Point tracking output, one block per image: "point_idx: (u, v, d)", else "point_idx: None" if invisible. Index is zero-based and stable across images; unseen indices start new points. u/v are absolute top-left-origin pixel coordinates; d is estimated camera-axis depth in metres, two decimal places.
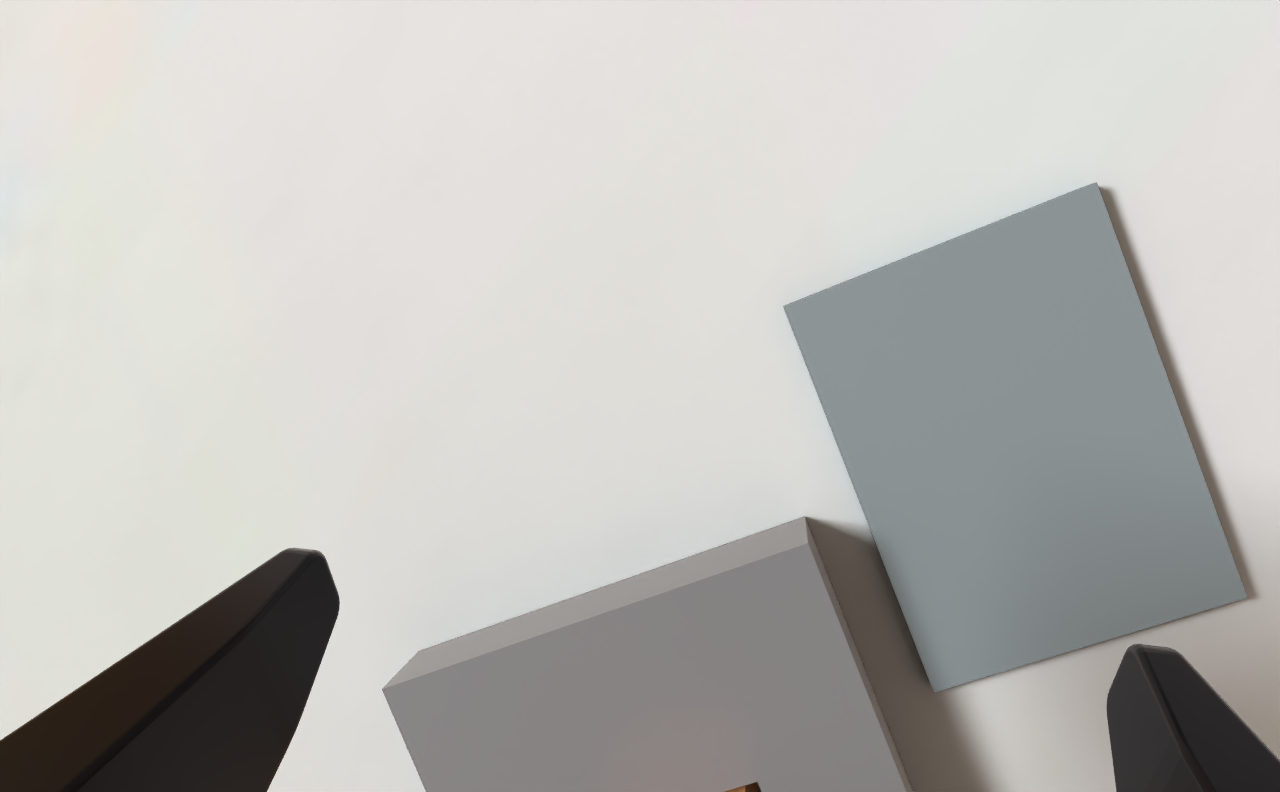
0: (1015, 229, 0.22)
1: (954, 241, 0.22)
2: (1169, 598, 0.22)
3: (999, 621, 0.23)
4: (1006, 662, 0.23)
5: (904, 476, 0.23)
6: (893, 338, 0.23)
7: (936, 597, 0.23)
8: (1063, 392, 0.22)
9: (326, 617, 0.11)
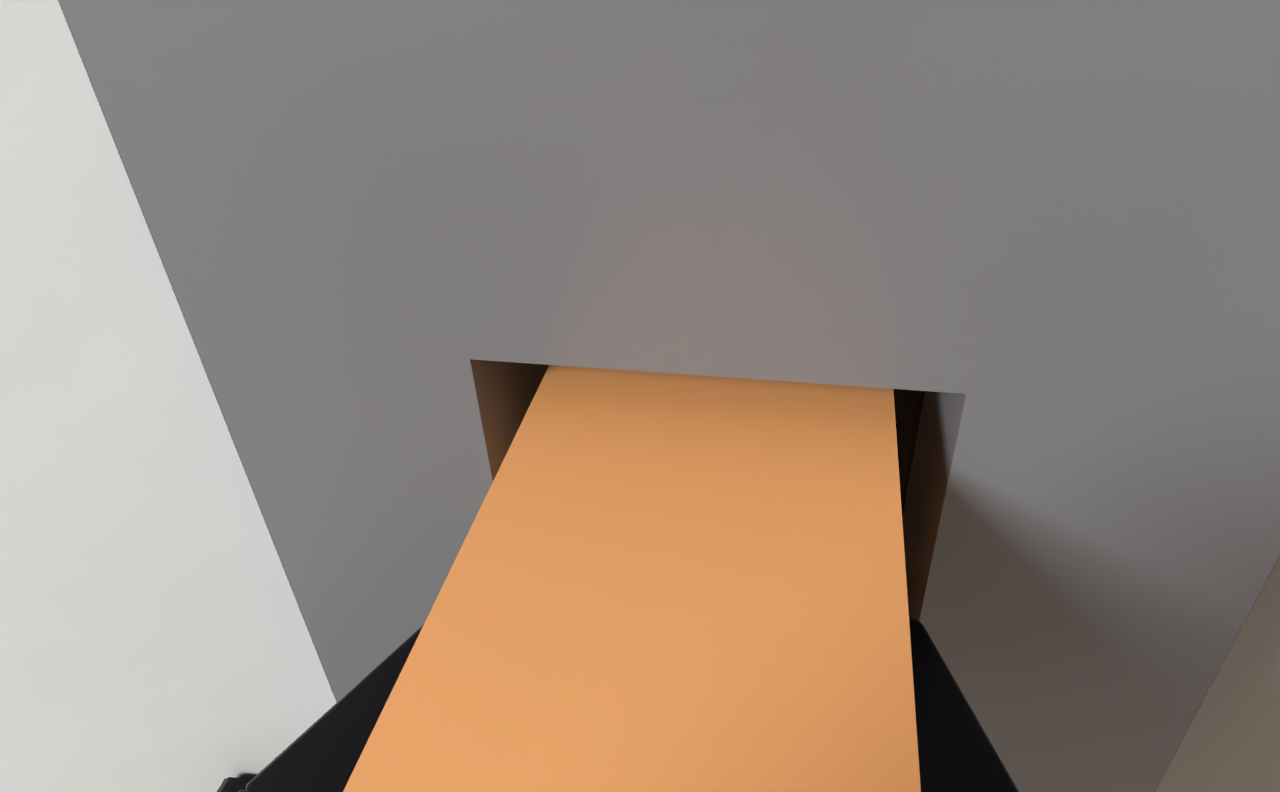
0: None
1: None
2: None
3: None
4: None
5: None
6: None
7: None
8: None
9: None
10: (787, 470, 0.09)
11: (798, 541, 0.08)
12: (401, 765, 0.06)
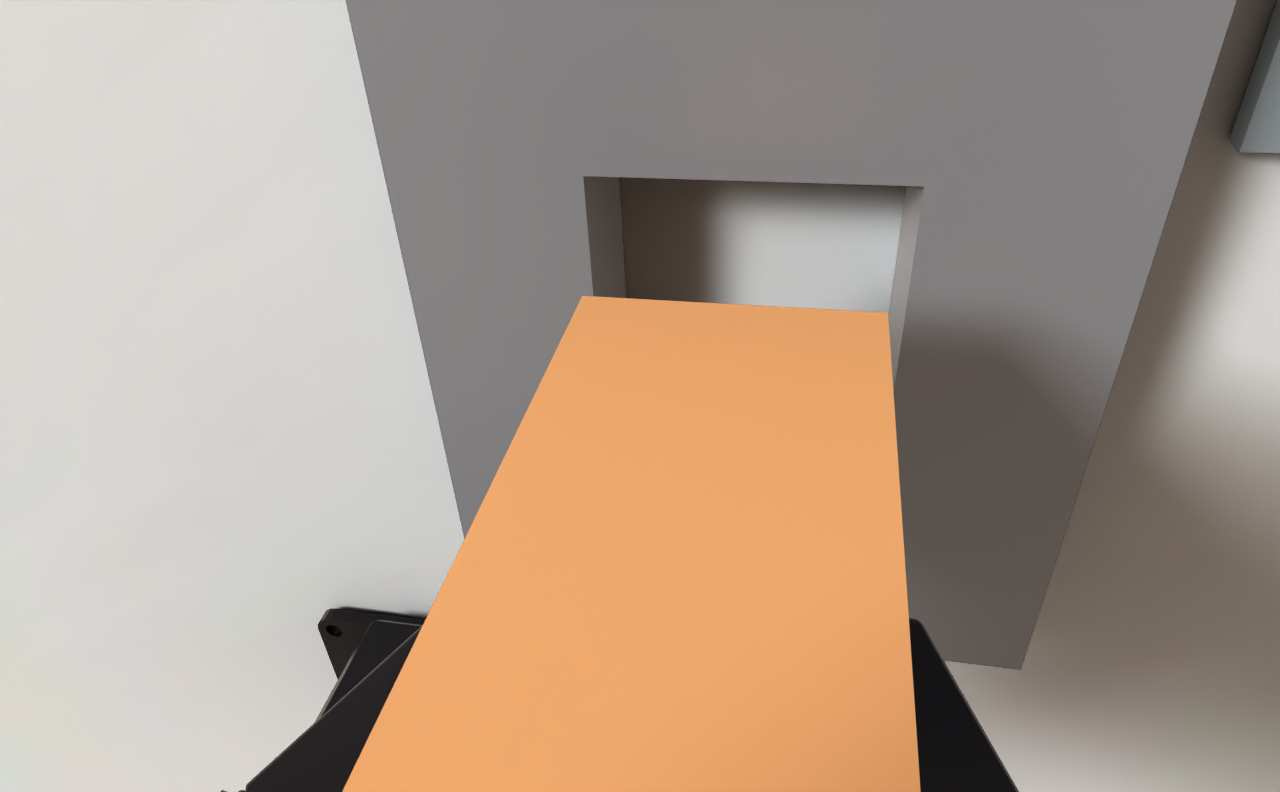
0: None
1: None
2: None
3: None
4: None
5: None
6: None
7: None
8: None
9: None
10: (787, 469, 0.09)
11: (798, 540, 0.08)
12: (401, 763, 0.06)
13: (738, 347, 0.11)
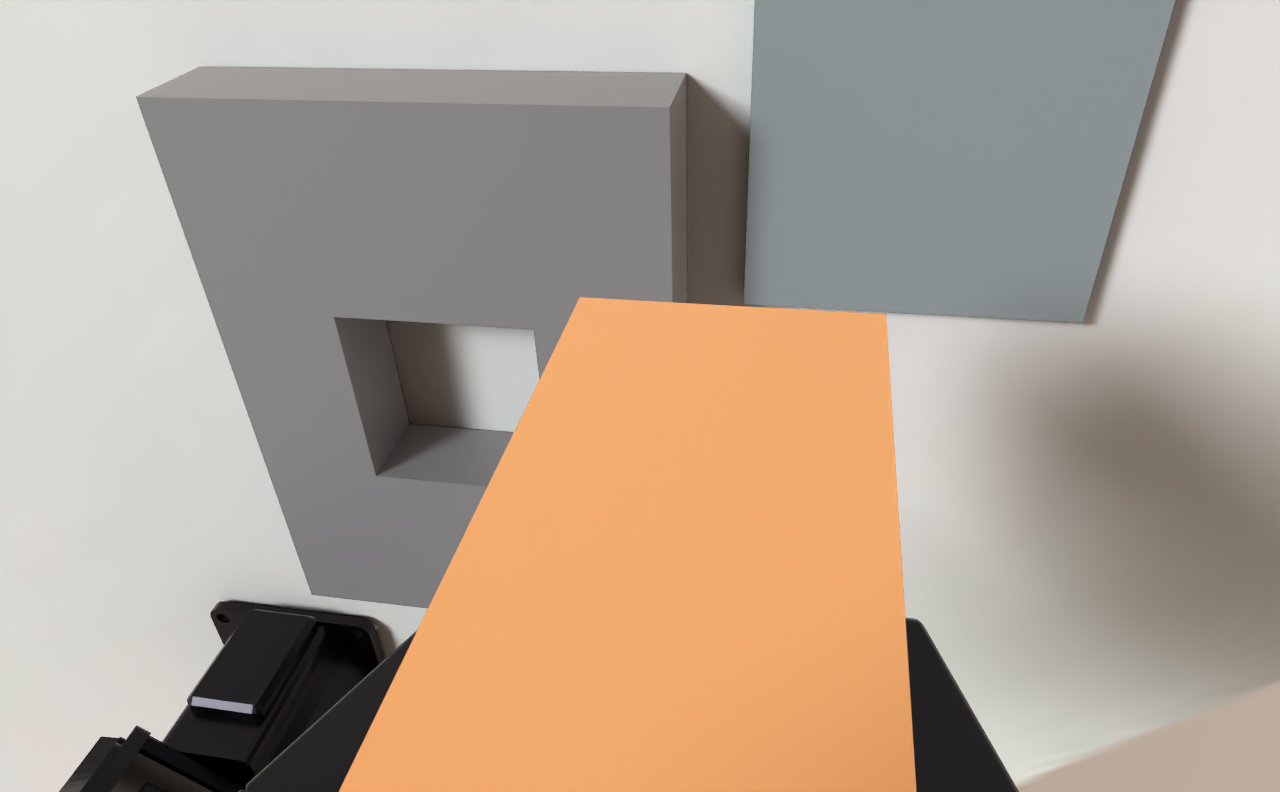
0: None
1: None
2: (1012, 297, 0.21)
3: (838, 260, 0.21)
4: (826, 300, 0.22)
5: (814, 68, 0.19)
6: None
7: (787, 213, 0.21)
8: (1037, 36, 0.18)
9: None
10: (784, 471, 0.09)
11: (794, 543, 0.08)
12: (396, 767, 0.06)
13: (735, 349, 0.11)
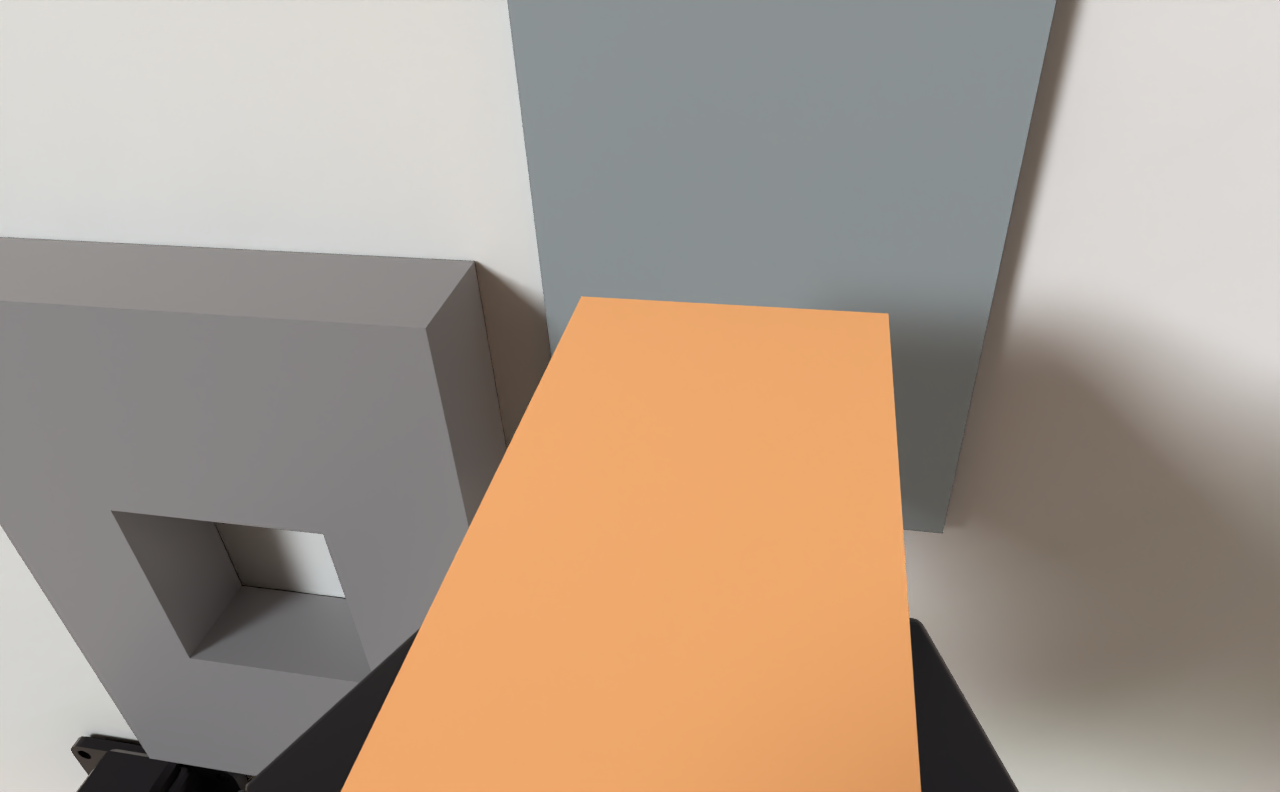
0: None
1: None
2: None
3: None
4: None
5: (608, 268, 0.16)
6: (654, 75, 0.14)
7: None
8: (855, 245, 0.15)
9: None
10: (787, 471, 0.09)
11: (797, 542, 0.08)
12: (397, 768, 0.06)
13: (737, 348, 0.11)
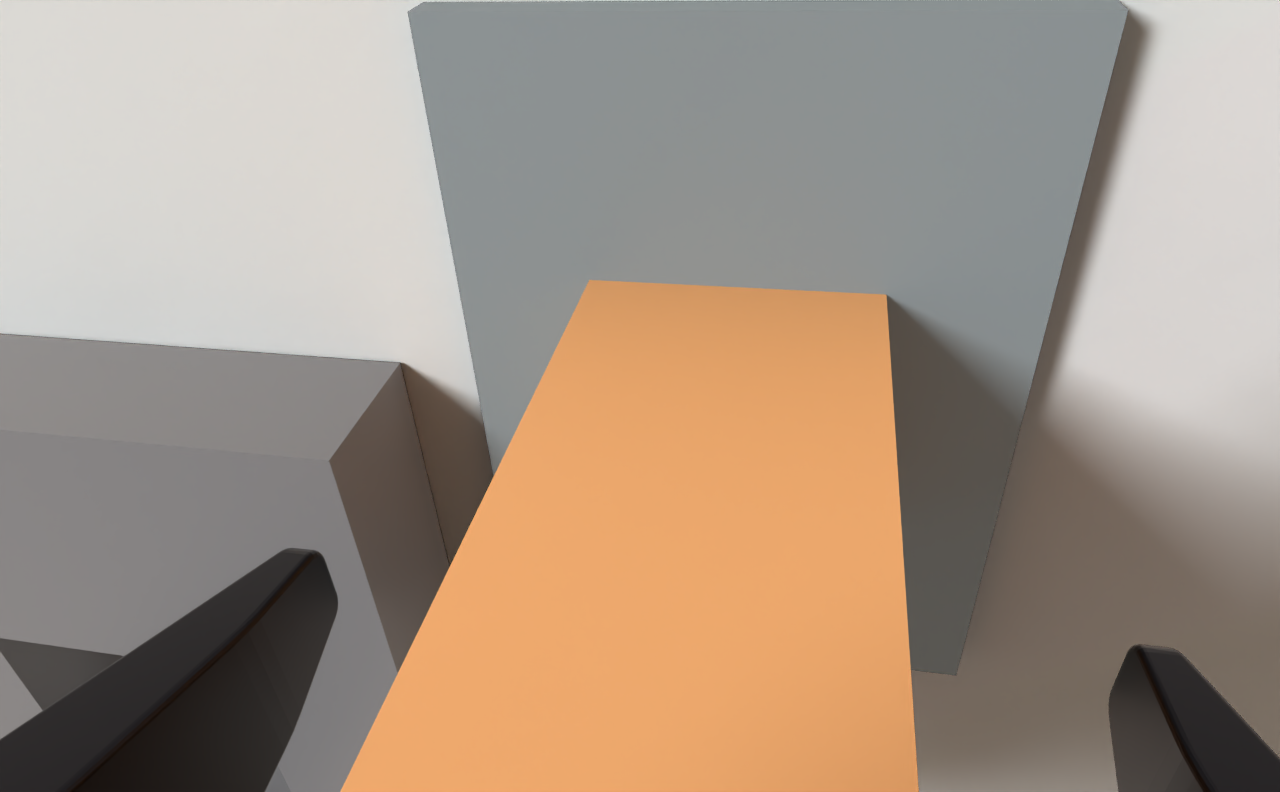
0: (914, 43, 0.10)
1: (785, 16, 0.10)
2: None
3: None
4: None
5: None
6: (602, 160, 0.11)
7: None
8: None
9: (325, 616, 0.11)
10: (788, 442, 0.09)
11: (798, 506, 0.08)
12: (422, 711, 0.07)
13: (741, 327, 0.11)
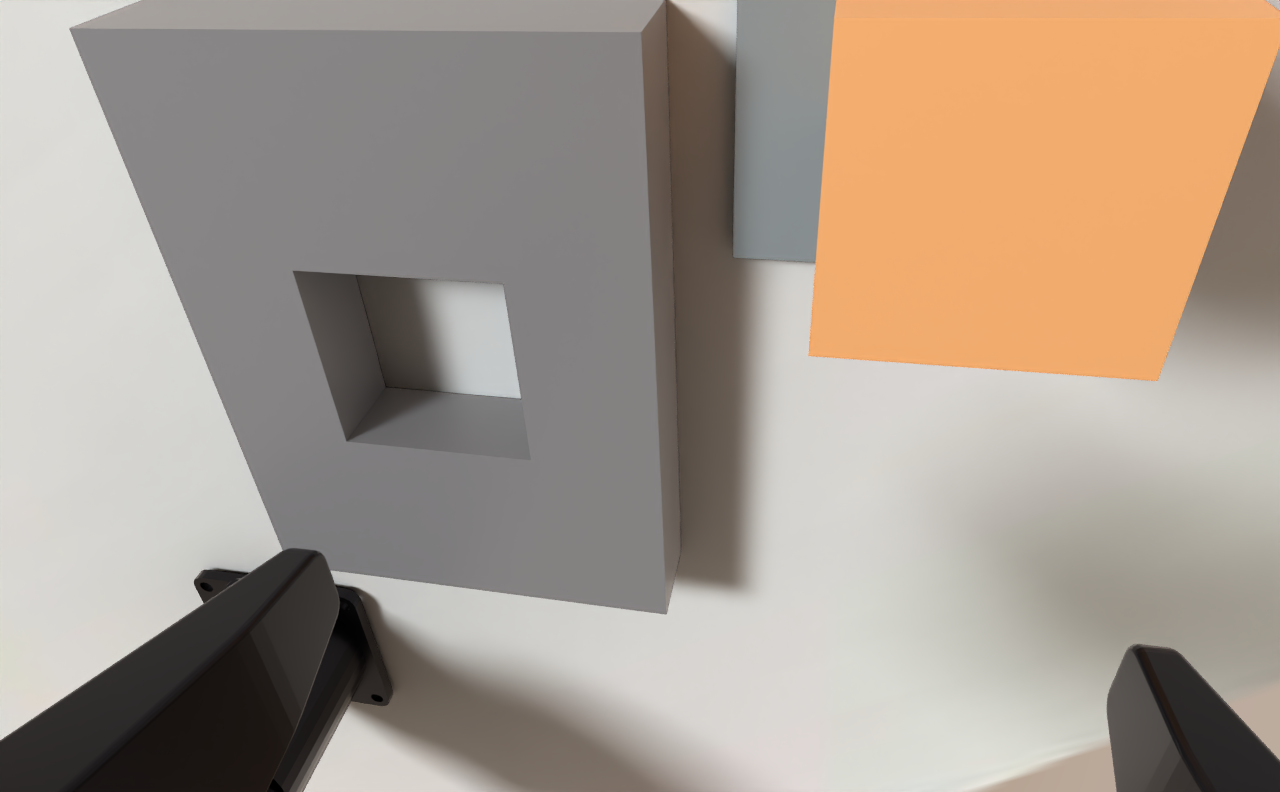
0: None
1: None
2: None
3: None
4: None
5: None
6: None
7: (779, 156, 0.19)
8: None
9: (326, 617, 0.11)
10: None
11: None
12: None
13: None
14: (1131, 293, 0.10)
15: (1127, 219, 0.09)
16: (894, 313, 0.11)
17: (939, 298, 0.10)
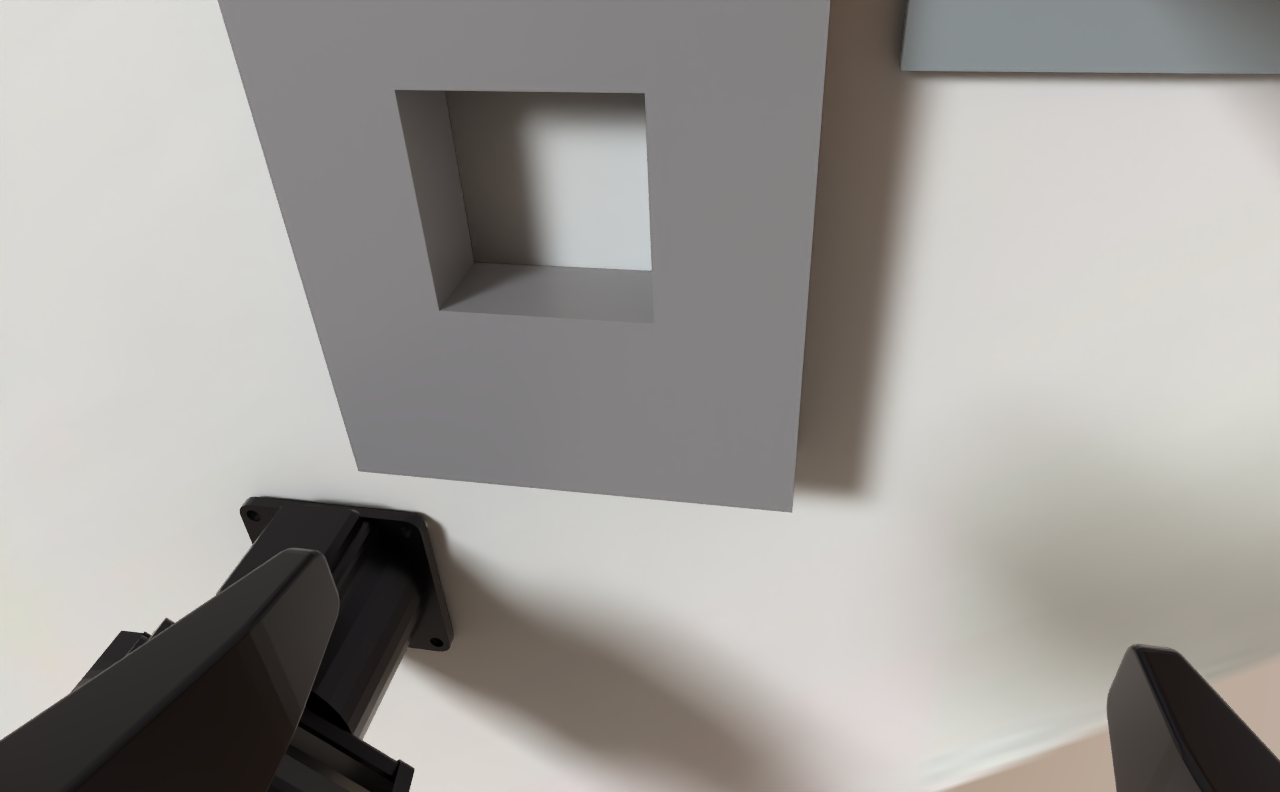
0: None
1: None
2: (1253, 41, 0.17)
3: (1031, 0, 0.17)
4: (1008, 60, 0.18)
5: None
6: None
7: None
8: None
9: (326, 617, 0.11)
10: None
11: None
12: None
13: None
14: None
15: None
16: None
17: None
